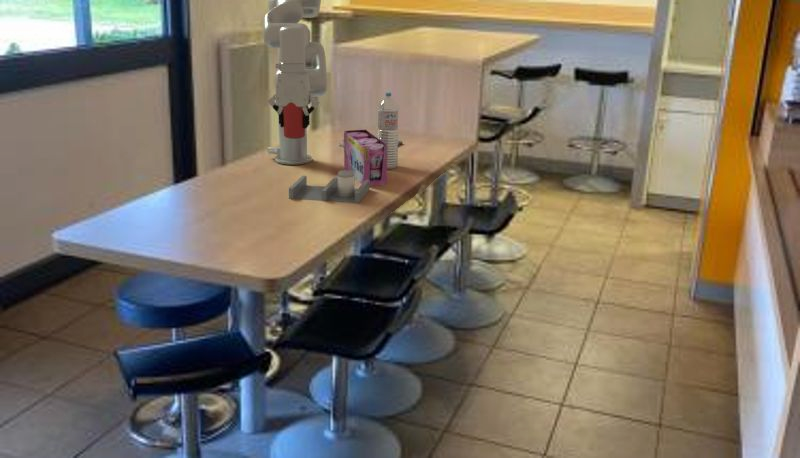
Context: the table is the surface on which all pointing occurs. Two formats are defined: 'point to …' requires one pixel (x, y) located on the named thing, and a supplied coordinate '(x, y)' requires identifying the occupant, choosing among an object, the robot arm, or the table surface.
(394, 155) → the water bottle
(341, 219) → the table surface
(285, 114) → the beer can
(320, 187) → the organizer
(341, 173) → the shaker
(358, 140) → the gum box
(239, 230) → the table surface
